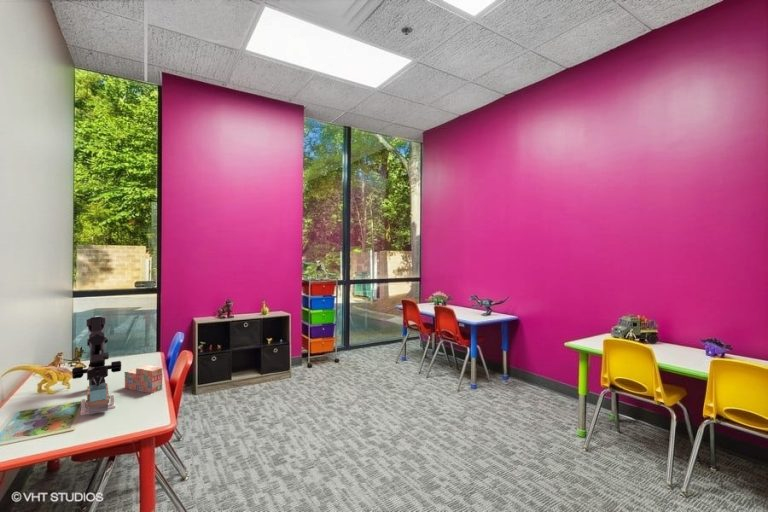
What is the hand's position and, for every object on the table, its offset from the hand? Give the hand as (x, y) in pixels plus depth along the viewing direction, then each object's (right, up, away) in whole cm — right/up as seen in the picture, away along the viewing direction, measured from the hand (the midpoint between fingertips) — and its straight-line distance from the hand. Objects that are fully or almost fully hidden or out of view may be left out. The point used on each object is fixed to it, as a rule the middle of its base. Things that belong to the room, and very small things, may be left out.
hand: (97, 384), depth 174 cm
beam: (-3, -10, +4) cm, 12 cm away
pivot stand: (-1, -12, +1) cm, 12 cm away
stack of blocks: (+4, -12, +28) cm, 30 cm away
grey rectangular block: (-1, -3, +2) cm, 4 cm away
